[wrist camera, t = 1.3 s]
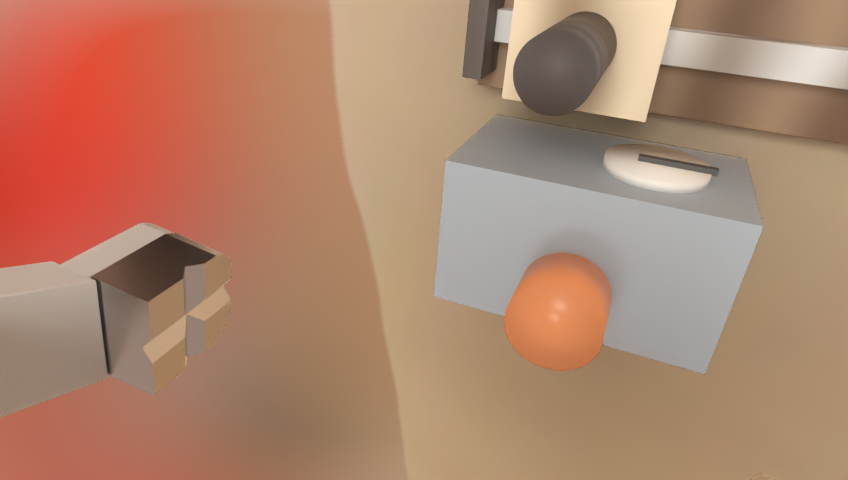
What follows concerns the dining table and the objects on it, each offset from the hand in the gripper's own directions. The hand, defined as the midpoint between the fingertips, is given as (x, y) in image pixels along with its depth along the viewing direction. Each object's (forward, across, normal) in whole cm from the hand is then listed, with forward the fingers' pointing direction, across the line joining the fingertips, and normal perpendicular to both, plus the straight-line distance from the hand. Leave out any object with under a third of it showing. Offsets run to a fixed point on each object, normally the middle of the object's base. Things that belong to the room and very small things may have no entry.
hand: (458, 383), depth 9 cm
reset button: (+16, -2, +8) cm, 18 cm away
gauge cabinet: (+28, -2, +8) cm, 29 cm away
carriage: (+26, +1, -1) cm, 26 cm away
